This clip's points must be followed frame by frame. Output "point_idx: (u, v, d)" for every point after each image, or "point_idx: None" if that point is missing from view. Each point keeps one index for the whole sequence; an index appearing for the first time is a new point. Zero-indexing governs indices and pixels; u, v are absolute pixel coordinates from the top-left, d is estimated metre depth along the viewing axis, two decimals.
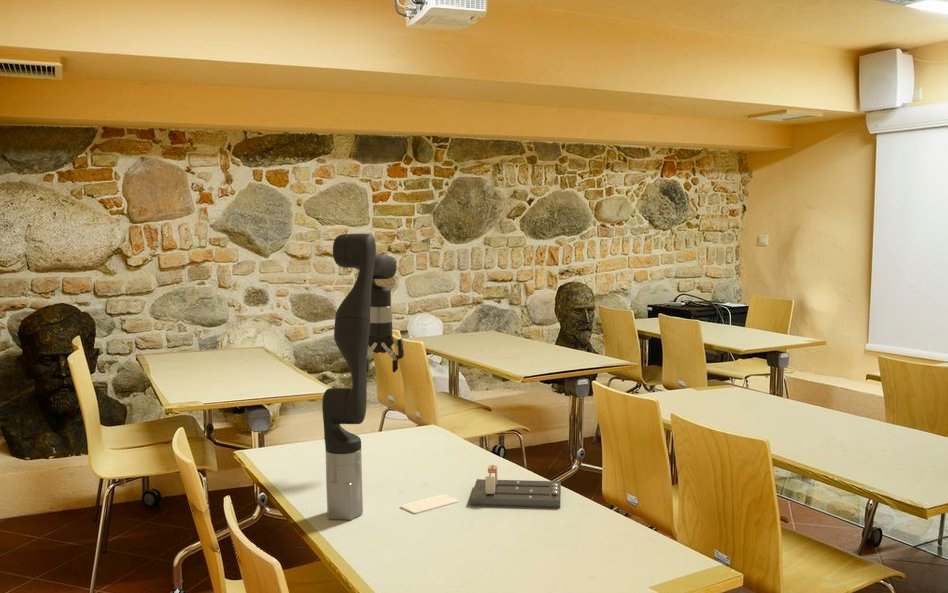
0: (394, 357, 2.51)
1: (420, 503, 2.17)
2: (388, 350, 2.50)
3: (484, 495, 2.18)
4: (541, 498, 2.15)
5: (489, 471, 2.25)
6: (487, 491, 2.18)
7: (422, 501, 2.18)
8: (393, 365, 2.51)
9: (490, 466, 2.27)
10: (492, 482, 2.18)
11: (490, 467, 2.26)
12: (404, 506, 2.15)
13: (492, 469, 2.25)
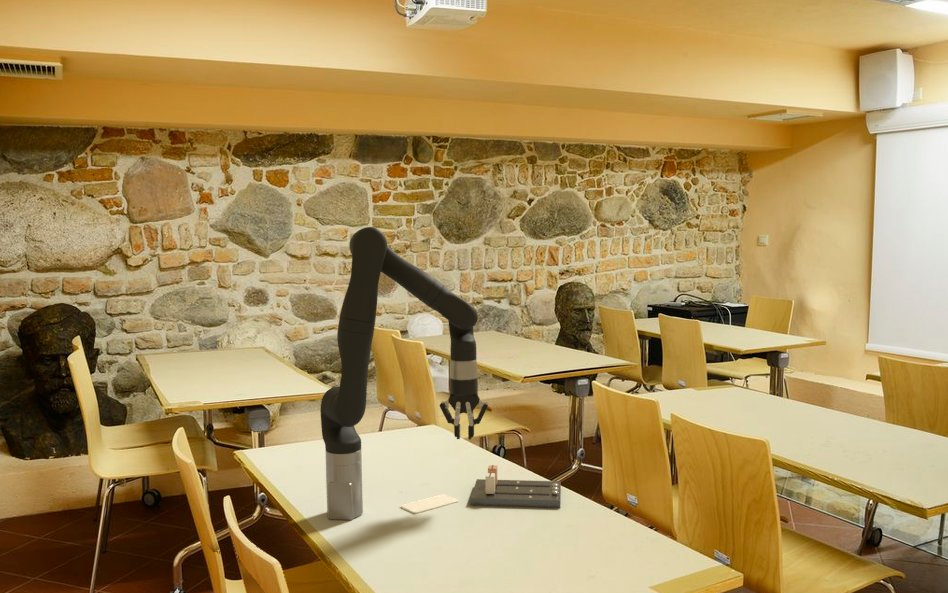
0: (470, 422, 2.17)
1: (420, 503, 2.17)
2: (469, 412, 2.17)
3: (484, 495, 2.18)
4: (541, 498, 2.15)
5: (489, 471, 2.25)
6: (487, 491, 2.18)
7: (422, 501, 2.18)
8: (469, 431, 2.18)
9: (490, 466, 2.27)
10: (492, 482, 2.18)
11: (490, 467, 2.26)
12: (404, 506, 2.15)
13: (492, 469, 2.25)
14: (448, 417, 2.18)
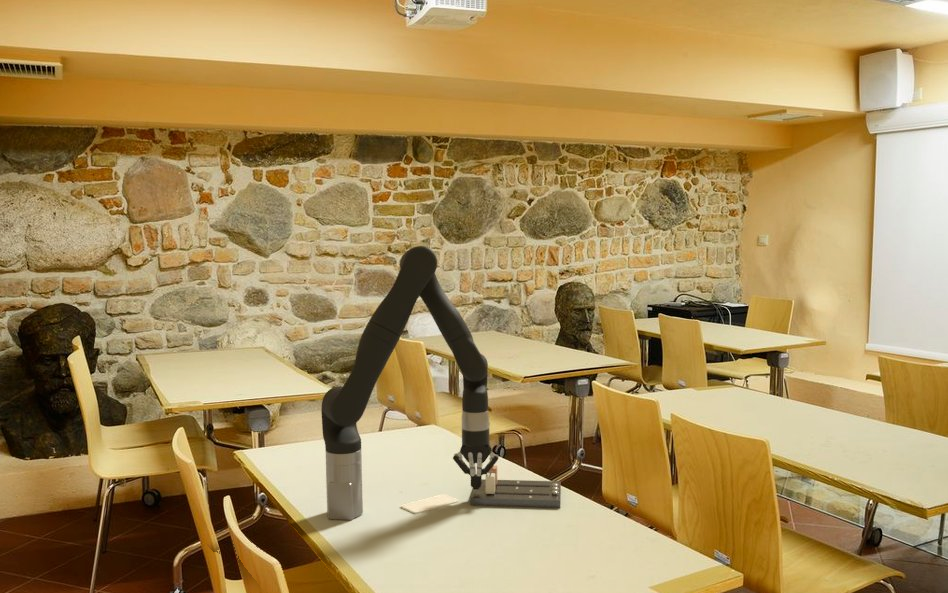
0: (478, 472, 2.19)
1: (420, 503, 2.17)
2: (479, 463, 2.18)
3: (484, 495, 2.18)
4: (541, 498, 2.15)
5: (489, 471, 2.25)
6: (487, 491, 2.18)
7: (422, 501, 2.18)
8: (477, 481, 2.19)
9: None
10: (492, 482, 2.18)
11: None
12: (404, 506, 2.15)
13: (492, 469, 2.25)
14: (464, 468, 2.19)
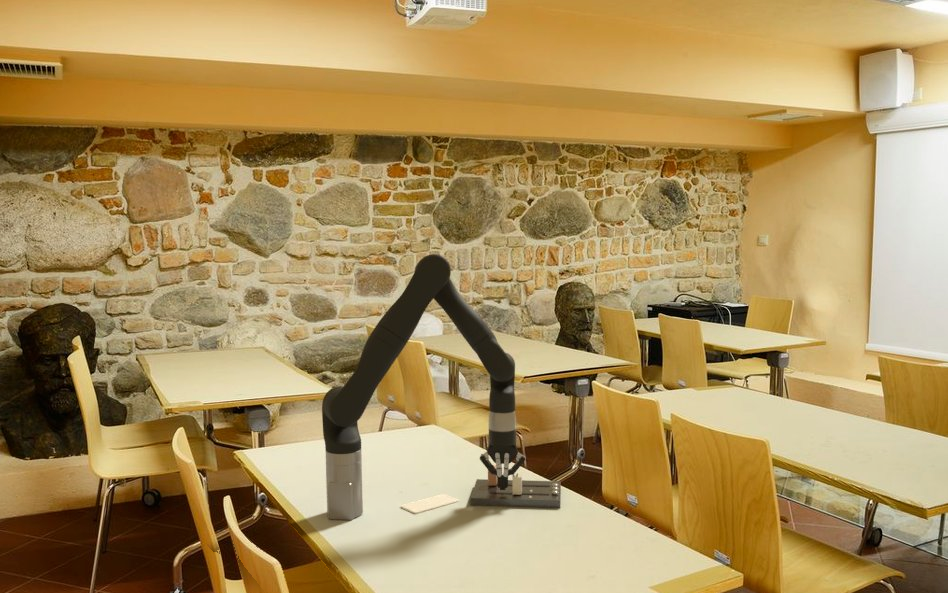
0: (505, 473, 2.18)
1: (420, 503, 2.17)
2: (506, 463, 2.17)
3: (484, 495, 2.18)
4: (541, 498, 2.15)
5: None
6: (514, 492, 2.18)
7: (422, 501, 2.18)
8: (503, 482, 2.18)
9: None
10: (519, 483, 2.17)
11: None
12: (404, 506, 2.15)
13: None
14: (490, 468, 2.18)
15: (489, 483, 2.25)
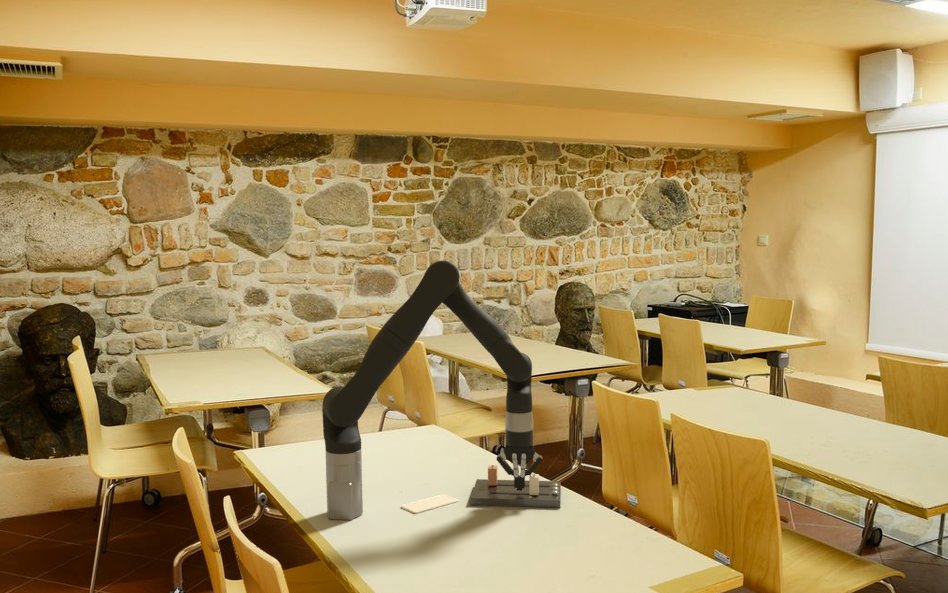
0: (522, 473, 2.17)
1: (420, 503, 2.17)
2: (523, 464, 2.17)
3: (484, 495, 2.18)
4: (541, 498, 2.15)
5: (489, 471, 2.25)
6: (531, 492, 2.17)
7: (422, 501, 2.18)
8: (520, 482, 2.18)
9: (490, 466, 2.27)
10: (536, 483, 2.17)
11: (490, 467, 2.26)
12: (404, 506, 2.15)
13: (492, 469, 2.25)
14: (507, 469, 2.18)
15: (489, 483, 2.25)
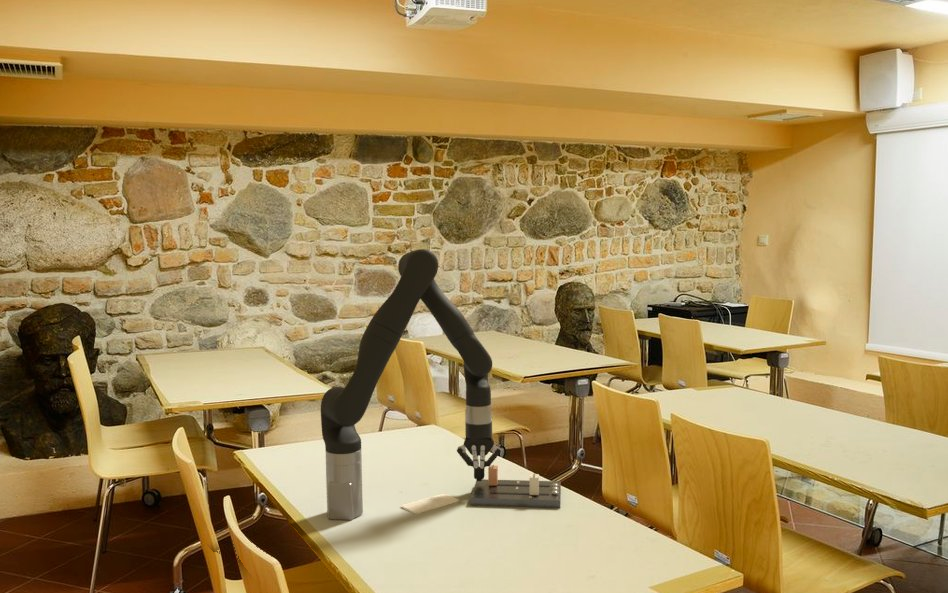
0: (481, 465, 2.26)
1: (420, 503, 2.17)
2: (482, 455, 2.25)
3: (484, 495, 2.18)
4: (541, 498, 2.15)
5: (489, 471, 2.25)
6: (531, 492, 2.17)
7: (422, 501, 2.19)
8: (480, 473, 2.26)
9: (490, 466, 2.27)
10: (536, 483, 2.17)
11: (490, 467, 2.26)
12: (404, 506, 2.15)
13: (492, 469, 2.25)
14: (467, 460, 2.26)
15: (489, 483, 2.25)
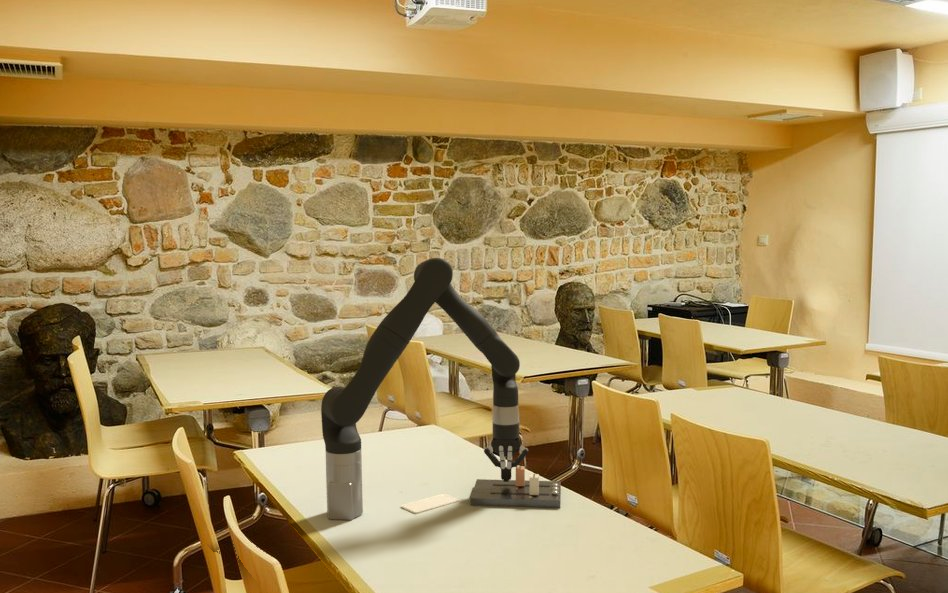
0: (508, 465, 2.25)
1: (420, 503, 2.17)
2: (510, 456, 2.24)
3: (484, 495, 2.18)
4: (541, 498, 2.15)
5: (517, 472, 2.24)
6: (531, 492, 2.17)
7: (422, 501, 2.19)
8: (507, 474, 2.25)
9: (518, 467, 2.26)
10: (536, 483, 2.17)
11: (518, 468, 2.25)
12: (405, 506, 2.15)
13: (520, 470, 2.24)
14: (494, 461, 2.25)
15: (517, 484, 2.24)
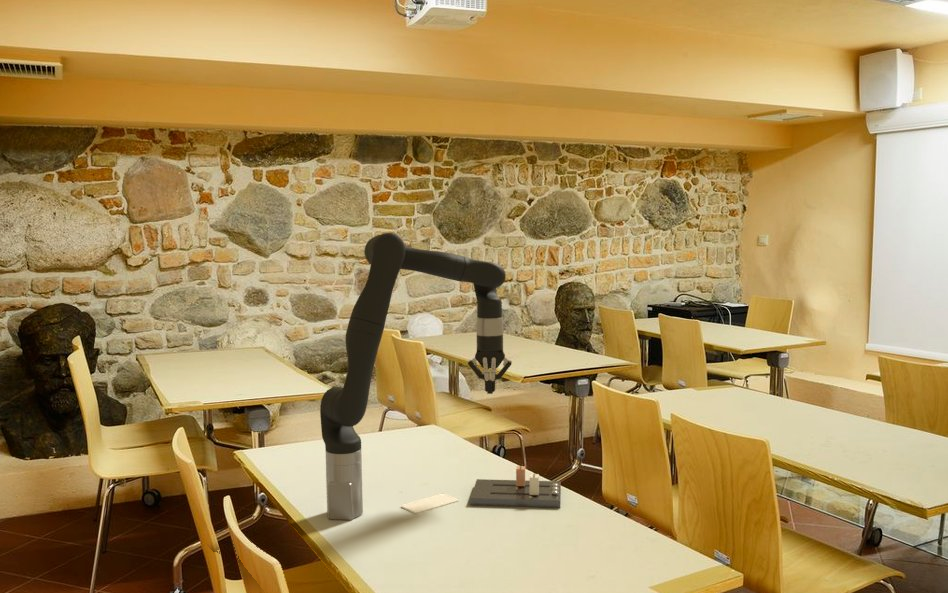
0: (492, 377, 2.28)
1: (420, 503, 2.17)
2: (493, 368, 2.28)
3: (484, 495, 2.18)
4: (541, 498, 2.15)
5: (517, 472, 2.24)
6: (531, 492, 2.17)
7: (422, 501, 2.19)
8: (491, 386, 2.29)
9: (518, 467, 2.26)
10: (536, 483, 2.17)
11: (518, 468, 2.25)
12: (405, 506, 2.15)
13: (520, 470, 2.24)
14: (478, 373, 2.29)
15: (517, 484, 2.24)
